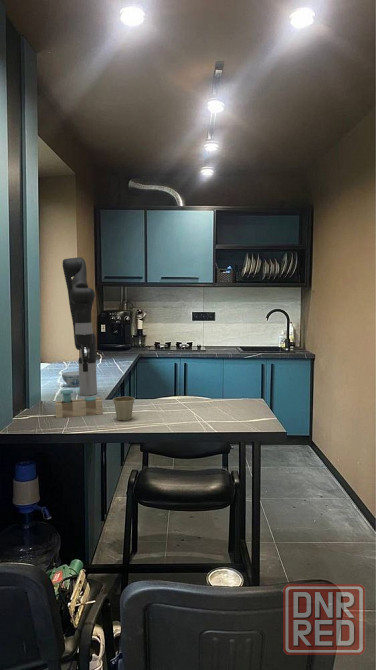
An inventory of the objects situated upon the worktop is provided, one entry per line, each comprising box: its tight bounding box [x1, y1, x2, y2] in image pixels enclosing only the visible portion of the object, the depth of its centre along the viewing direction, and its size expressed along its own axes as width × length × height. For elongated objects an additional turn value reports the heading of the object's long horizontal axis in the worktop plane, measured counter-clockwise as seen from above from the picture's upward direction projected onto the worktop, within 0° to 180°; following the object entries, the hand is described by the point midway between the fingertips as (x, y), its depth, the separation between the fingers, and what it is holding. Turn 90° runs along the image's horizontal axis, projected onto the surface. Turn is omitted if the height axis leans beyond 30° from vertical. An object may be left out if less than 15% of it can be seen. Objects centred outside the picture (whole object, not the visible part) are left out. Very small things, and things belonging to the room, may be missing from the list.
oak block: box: [54, 397, 104, 419], centre depth 201 cm, size 7×20×6 cm, turn 106°
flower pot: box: [112, 396, 136, 421], centre depth 191 cm, size 9×9×9 cm
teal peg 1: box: [60, 389, 74, 403], centre depth 199 cm, size 5×5×7 cm
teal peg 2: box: [83, 396, 97, 401], centre depth 202 cm, size 5×5×7 cm
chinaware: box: [61, 370, 80, 388], centre depth 270 cm, size 15×15×8 cm
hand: (85, 371), depth 201 cm, fingers closed
